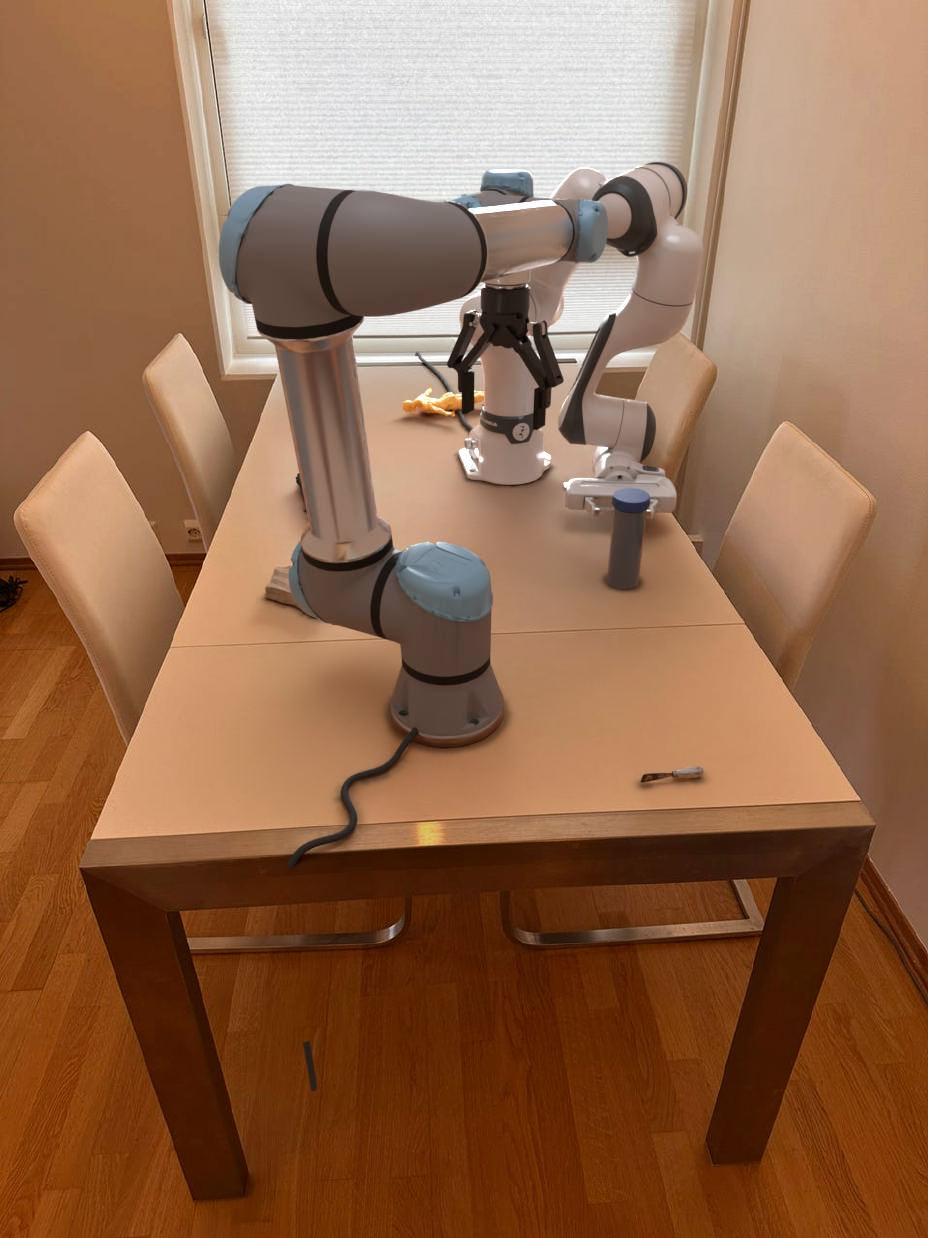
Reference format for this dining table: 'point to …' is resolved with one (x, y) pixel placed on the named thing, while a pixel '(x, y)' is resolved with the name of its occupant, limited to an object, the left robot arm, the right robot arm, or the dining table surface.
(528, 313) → the right robot arm
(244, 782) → the dining table surface
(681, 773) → the putty knife
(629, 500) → the lid
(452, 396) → the human figure
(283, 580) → the stone
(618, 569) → the grey tall cylinder
